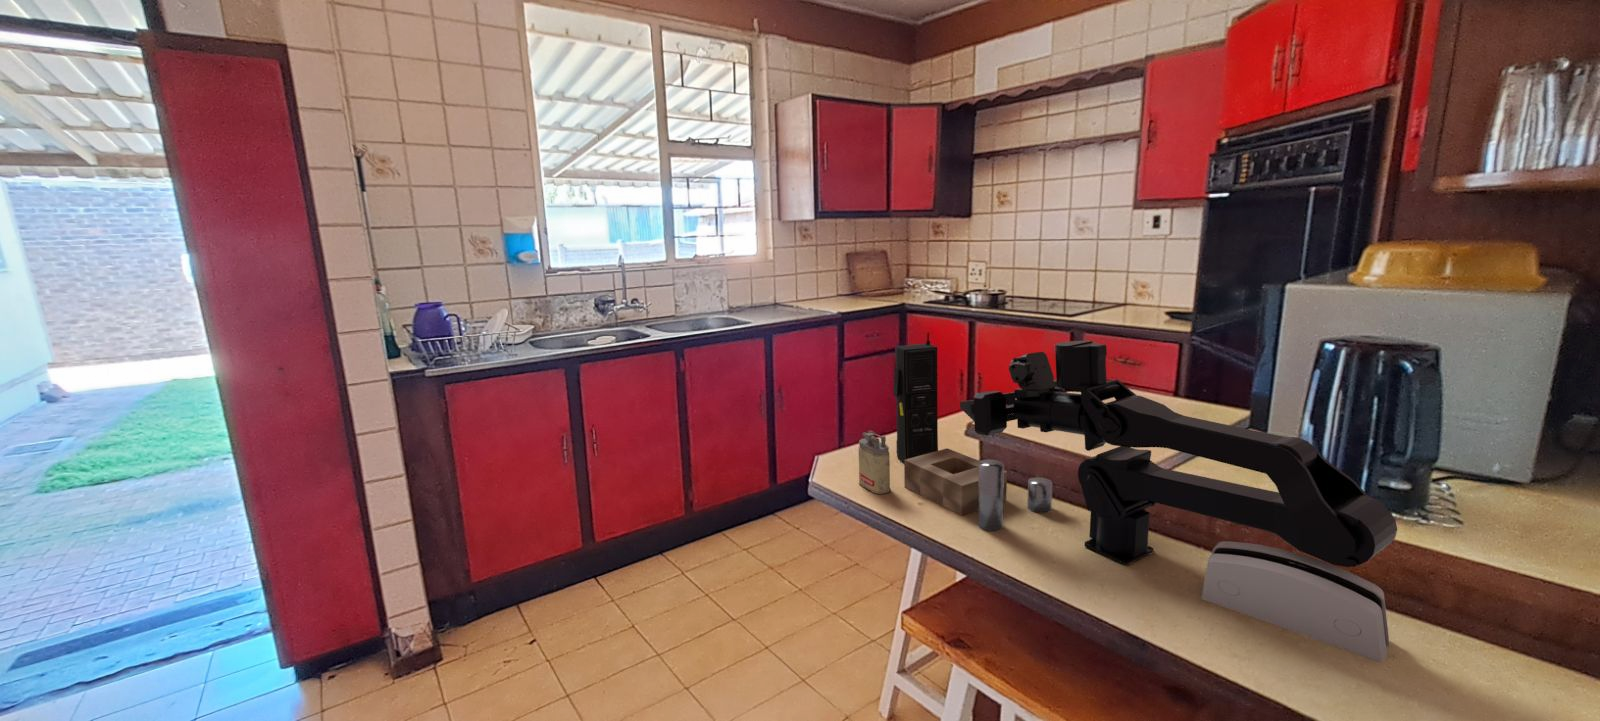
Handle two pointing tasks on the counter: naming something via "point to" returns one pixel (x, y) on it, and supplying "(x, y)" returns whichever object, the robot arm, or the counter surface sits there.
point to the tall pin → (990, 495)
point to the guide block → (946, 479)
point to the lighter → (874, 463)
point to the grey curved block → (1299, 596)
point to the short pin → (1039, 495)
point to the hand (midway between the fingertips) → (980, 400)
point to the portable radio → (916, 399)
